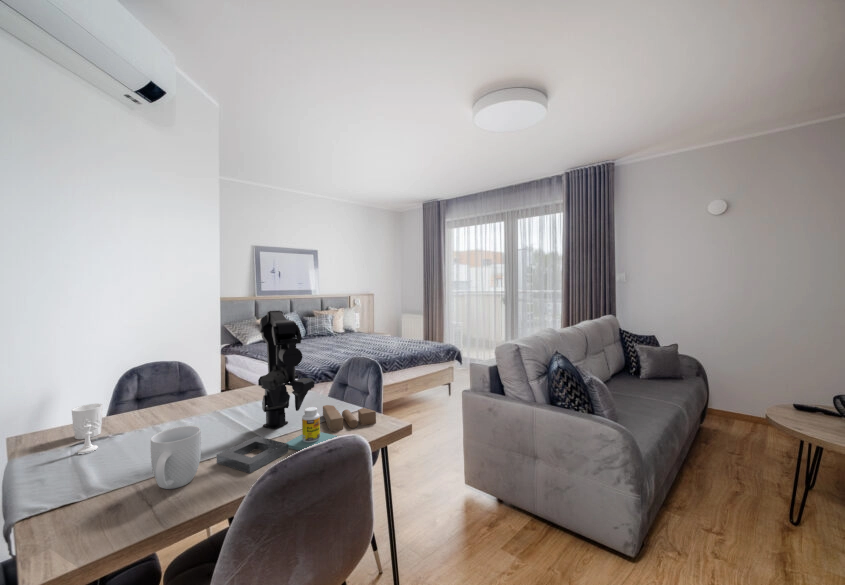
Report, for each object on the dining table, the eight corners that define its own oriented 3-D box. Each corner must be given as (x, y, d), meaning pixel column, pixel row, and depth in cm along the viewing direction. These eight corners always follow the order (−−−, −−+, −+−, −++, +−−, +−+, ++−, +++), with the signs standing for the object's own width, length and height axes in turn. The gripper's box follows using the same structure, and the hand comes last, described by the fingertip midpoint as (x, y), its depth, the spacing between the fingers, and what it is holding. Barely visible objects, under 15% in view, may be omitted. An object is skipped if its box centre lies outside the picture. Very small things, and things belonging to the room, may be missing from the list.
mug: (185, 500, 86) (184, 447, 86) (133, 506, 84) (132, 452, 84) (208, 469, 101) (207, 423, 101) (163, 474, 99) (162, 427, 98)
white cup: (67, 438, 123) (66, 409, 122) (95, 429, 130) (94, 402, 130) (80, 441, 120) (79, 412, 120) (108, 432, 127) (107, 405, 127)
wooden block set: (330, 417, 126) (321, 402, 142) (331, 433, 126) (322, 416, 142) (376, 409, 133) (363, 396, 149) (376, 424, 133) (363, 409, 150)
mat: (284, 446, 115) (284, 443, 115) (310, 432, 126) (310, 429, 126) (312, 454, 110) (312, 450, 110) (337, 438, 120) (337, 435, 120)
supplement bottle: (305, 444, 114) (304, 413, 114) (300, 438, 118) (299, 408, 118) (322, 440, 117) (321, 409, 117) (317, 434, 121) (316, 404, 121)
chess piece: (101, 449, 114) (100, 418, 114) (81, 455, 110) (80, 423, 110) (93, 446, 116) (92, 415, 116) (73, 452, 112) (72, 421, 112)
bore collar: (216, 462, 105) (216, 454, 105) (257, 443, 117) (256, 436, 117) (249, 473, 99) (249, 464, 99) (288, 451, 111) (288, 443, 111)
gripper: (243, 363, 111) (244, 412, 112) (289, 368, 104) (290, 421, 104) (271, 356, 121) (272, 401, 122) (315, 361, 114) (315, 409, 114)
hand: (286, 408), depth 115 cm, fingers open, 9 cm apart
